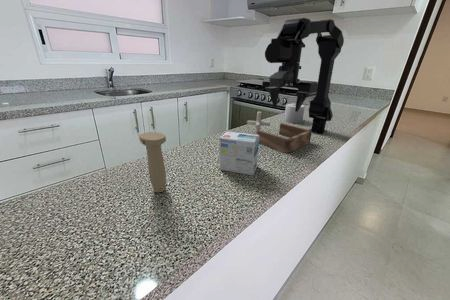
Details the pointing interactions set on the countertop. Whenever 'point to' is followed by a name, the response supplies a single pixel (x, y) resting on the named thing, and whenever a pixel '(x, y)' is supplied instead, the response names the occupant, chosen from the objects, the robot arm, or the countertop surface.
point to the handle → (155, 159)
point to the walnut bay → (295, 141)
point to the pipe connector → (258, 122)
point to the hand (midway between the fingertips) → (285, 109)
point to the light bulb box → (239, 152)
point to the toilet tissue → (294, 114)
